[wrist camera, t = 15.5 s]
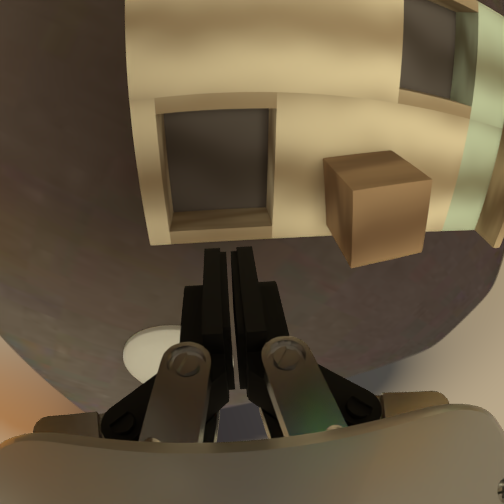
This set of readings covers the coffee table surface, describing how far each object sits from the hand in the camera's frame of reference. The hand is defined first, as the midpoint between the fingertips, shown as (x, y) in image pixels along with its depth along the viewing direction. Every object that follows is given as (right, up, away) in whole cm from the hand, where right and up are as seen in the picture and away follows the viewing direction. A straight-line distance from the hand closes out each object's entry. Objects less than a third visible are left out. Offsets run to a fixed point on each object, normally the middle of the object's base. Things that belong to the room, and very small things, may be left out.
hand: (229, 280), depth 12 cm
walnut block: (+8, +5, +9) cm, 13 cm away
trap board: (+8, +12, +8) cm, 16 cm away
